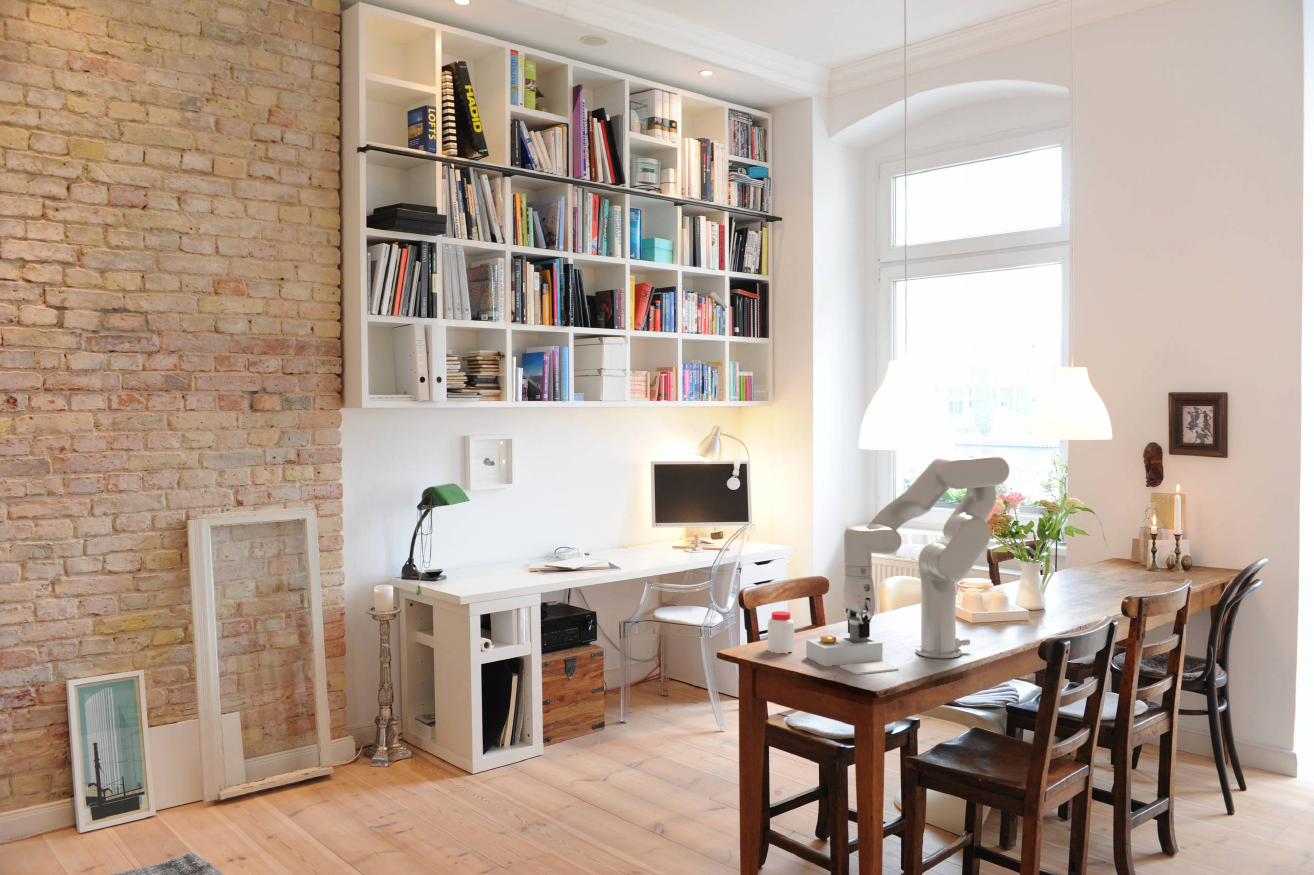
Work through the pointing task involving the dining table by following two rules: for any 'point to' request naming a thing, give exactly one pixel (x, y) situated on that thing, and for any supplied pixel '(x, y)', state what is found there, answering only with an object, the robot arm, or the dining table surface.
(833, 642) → the plunger
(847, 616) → the robot arm
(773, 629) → the pill bottle
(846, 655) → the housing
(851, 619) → the cylinder
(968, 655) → the dining table surface
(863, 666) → the mat
